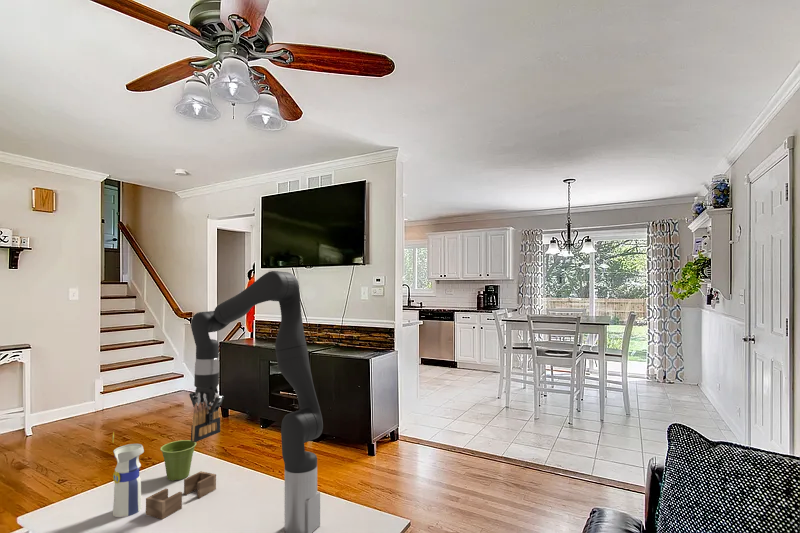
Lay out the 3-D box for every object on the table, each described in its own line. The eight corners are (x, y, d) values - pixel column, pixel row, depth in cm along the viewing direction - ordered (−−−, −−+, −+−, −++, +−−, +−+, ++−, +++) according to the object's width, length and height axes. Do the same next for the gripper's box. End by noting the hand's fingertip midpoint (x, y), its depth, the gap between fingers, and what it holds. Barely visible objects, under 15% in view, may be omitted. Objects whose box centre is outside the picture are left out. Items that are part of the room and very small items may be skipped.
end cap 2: (183, 494, 148) (184, 479, 148) (200, 485, 154) (200, 471, 155) (199, 498, 145) (199, 482, 145) (216, 489, 152) (216, 474, 152)
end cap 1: (181, 508, 139) (181, 492, 139) (162, 519, 132) (162, 502, 133) (165, 504, 141) (165, 488, 142) (145, 514, 135) (145, 498, 135)
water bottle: (120, 521, 132) (121, 435, 133) (106, 513, 136) (107, 431, 137) (148, 509, 139) (149, 428, 140) (133, 502, 143) (135, 423, 144)
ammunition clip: (194, 442, 141) (195, 404, 142) (190, 441, 142) (191, 403, 142) (220, 431, 151) (221, 396, 151) (216, 431, 152) (217, 395, 152)
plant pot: (152, 484, 156) (153, 451, 157) (171, 470, 168) (171, 439, 168) (185, 484, 156) (186, 451, 156) (202, 470, 168) (202, 440, 168)
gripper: (231, 371, 148) (230, 423, 147) (200, 367, 153) (199, 418, 153) (213, 375, 141) (212, 430, 140) (182, 371, 146) (181, 424, 146)
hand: (205, 423), depth 147 cm, fingers closed on ammunition clip, 2 cm apart
